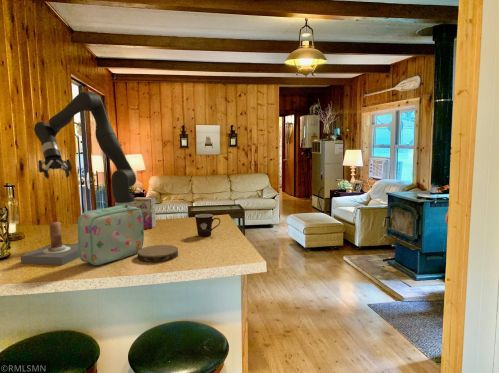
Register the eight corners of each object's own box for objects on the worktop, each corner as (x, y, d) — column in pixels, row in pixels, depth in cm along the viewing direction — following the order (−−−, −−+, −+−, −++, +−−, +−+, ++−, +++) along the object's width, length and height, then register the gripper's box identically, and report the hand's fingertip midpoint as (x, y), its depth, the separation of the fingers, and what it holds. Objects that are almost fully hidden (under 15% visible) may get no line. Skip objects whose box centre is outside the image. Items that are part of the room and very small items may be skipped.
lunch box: (131, 248, 163) (128, 200, 161) (148, 251, 158) (145, 201, 155) (76, 265, 140) (72, 209, 138) (93, 269, 135) (89, 211, 132)
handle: (69, 247, 153) (67, 221, 152) (58, 251, 147) (56, 224, 146) (55, 247, 154) (53, 221, 153) (44, 251, 148) (42, 224, 147)
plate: (90, 251, 158) (90, 244, 158) (62, 265, 141) (62, 256, 140) (53, 250, 161) (52, 243, 161) (21, 263, 144) (20, 255, 143)
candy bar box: (133, 227, 204) (132, 198, 202) (138, 226, 209) (136, 197, 207) (152, 228, 201) (150, 198, 199) (156, 226, 206) (155, 197, 204)
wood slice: (157, 265, 139) (156, 258, 139) (129, 259, 148) (128, 252, 147) (186, 255, 152) (186, 248, 152) (159, 249, 161) (158, 243, 161)
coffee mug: (192, 236, 182) (191, 216, 180) (201, 232, 190) (200, 213, 188) (213, 238, 177) (213, 218, 176) (221, 234, 185) (221, 214, 184)
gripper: (35, 147, 179) (41, 172, 172) (67, 147, 188) (74, 171, 180) (34, 158, 184) (40, 183, 176) (66, 157, 193) (72, 181, 185)
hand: (57, 177), depth 178 cm, fingers open, 8 cm apart
